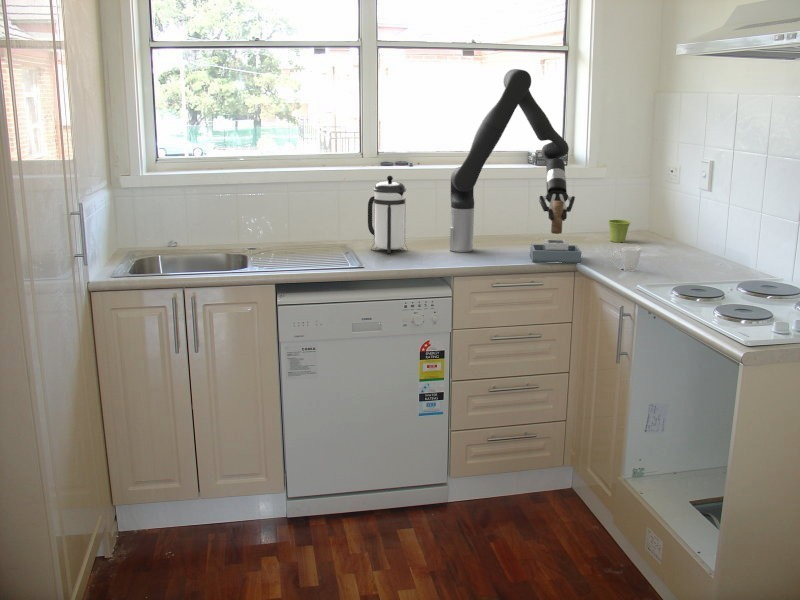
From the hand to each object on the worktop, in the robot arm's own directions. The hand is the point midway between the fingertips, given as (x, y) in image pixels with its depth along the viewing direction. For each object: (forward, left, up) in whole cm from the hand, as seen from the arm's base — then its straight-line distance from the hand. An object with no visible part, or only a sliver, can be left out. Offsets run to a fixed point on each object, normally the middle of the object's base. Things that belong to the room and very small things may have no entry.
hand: (557, 219), depth 299 cm
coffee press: (-66, +11, -16) cm, 69 cm away
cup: (+24, -13, -16) cm, 32 cm away
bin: (0, +2, -16) cm, 16 cm away
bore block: (0, +2, -16) cm, 16 cm away
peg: (0, +2, -6) cm, 6 cm away
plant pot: (+31, +42, -16) cm, 55 cm away
